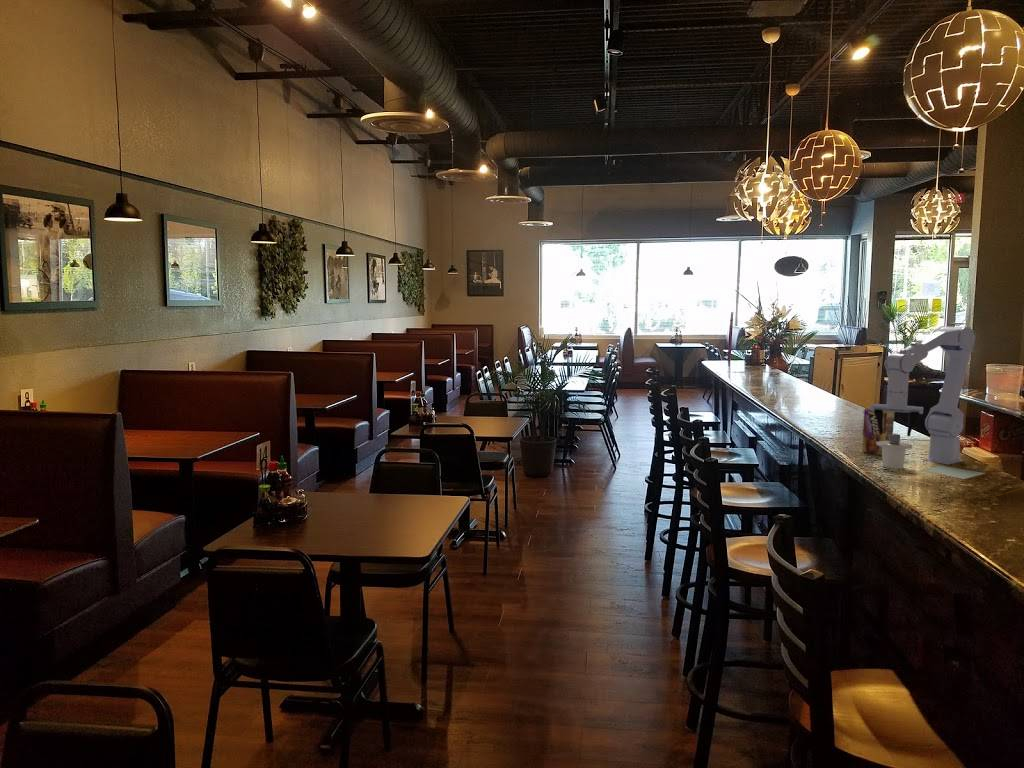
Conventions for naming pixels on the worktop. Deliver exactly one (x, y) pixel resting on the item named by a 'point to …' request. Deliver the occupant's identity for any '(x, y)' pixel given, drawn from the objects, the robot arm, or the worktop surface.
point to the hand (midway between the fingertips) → (894, 434)
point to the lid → (894, 443)
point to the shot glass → (893, 457)
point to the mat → (952, 472)
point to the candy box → (876, 431)
